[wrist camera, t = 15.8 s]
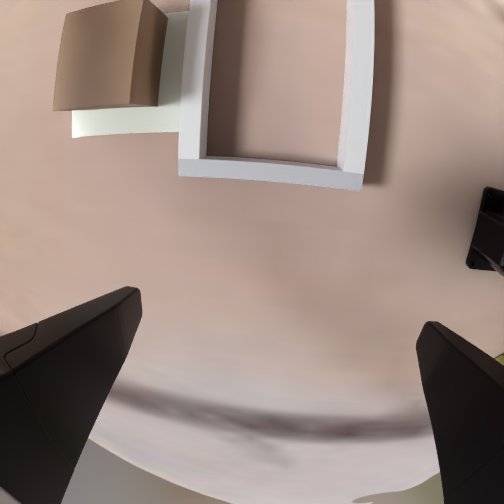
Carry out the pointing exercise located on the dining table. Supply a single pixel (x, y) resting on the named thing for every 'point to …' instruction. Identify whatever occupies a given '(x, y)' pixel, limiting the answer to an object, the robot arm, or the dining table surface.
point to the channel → (200, 165)
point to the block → (110, 57)
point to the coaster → (145, 117)
